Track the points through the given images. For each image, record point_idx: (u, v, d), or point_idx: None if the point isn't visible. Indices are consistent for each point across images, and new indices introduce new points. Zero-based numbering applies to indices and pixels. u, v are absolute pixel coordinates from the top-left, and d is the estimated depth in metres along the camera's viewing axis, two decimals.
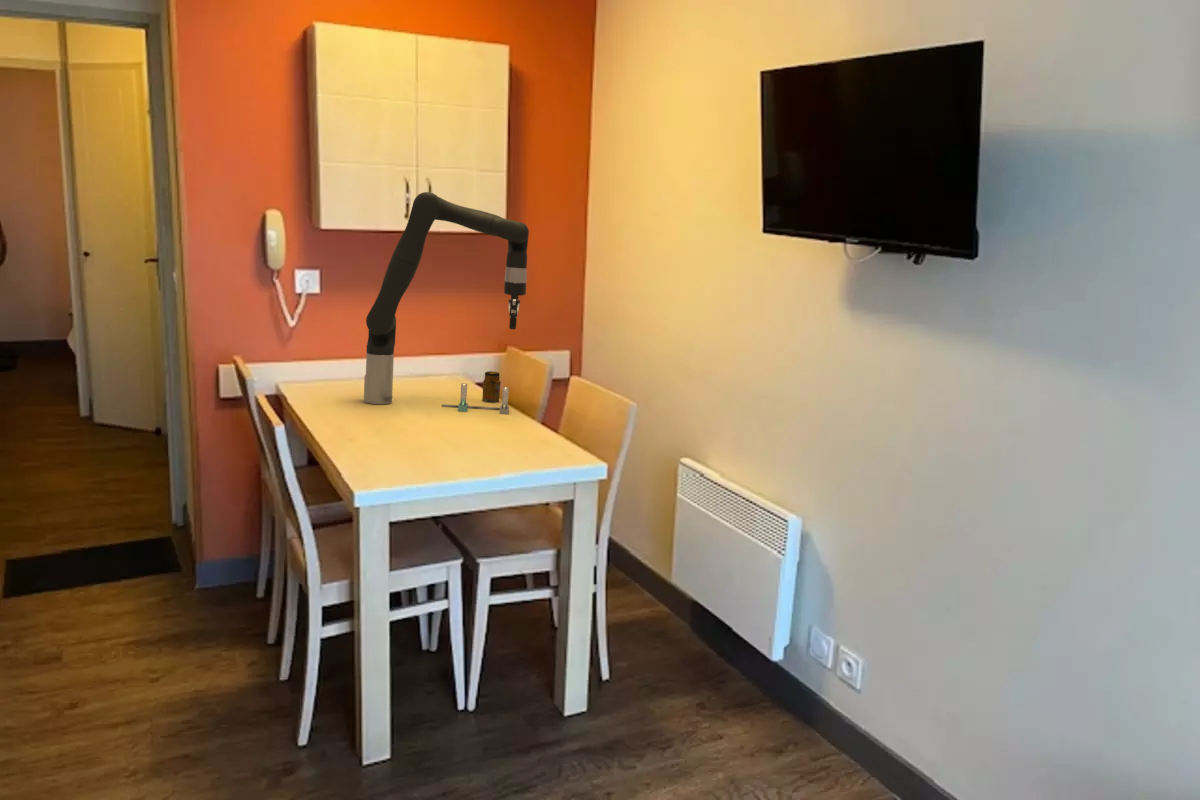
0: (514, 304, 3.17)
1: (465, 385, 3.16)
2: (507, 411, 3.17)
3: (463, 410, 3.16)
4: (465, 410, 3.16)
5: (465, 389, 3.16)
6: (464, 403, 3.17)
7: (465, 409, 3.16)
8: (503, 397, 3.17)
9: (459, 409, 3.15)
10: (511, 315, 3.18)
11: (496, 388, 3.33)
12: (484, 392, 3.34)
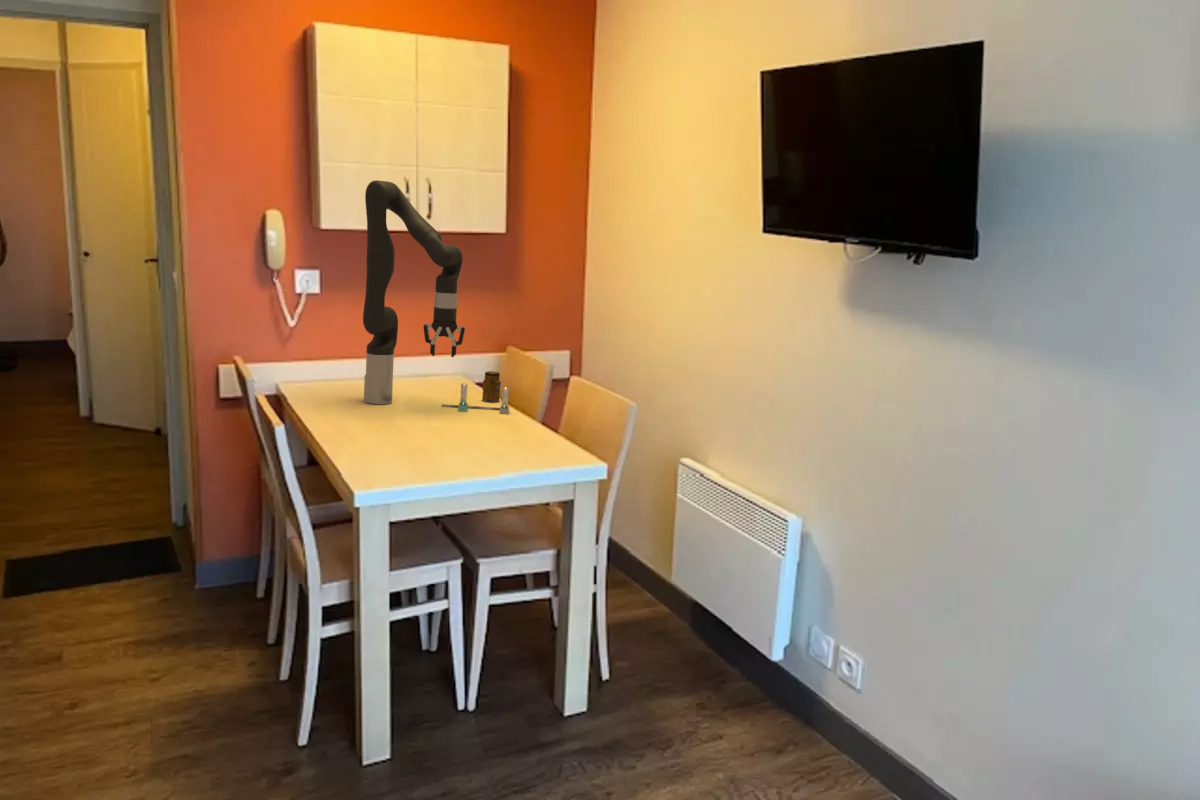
0: None
1: (465, 385, 3.16)
2: (507, 411, 3.17)
3: (463, 410, 3.16)
4: (465, 410, 3.16)
5: (465, 389, 3.16)
6: (464, 403, 3.17)
7: (465, 409, 3.16)
8: (503, 397, 3.17)
9: (459, 409, 3.15)
10: (461, 343, 3.13)
11: (496, 388, 3.34)
12: (484, 392, 3.34)
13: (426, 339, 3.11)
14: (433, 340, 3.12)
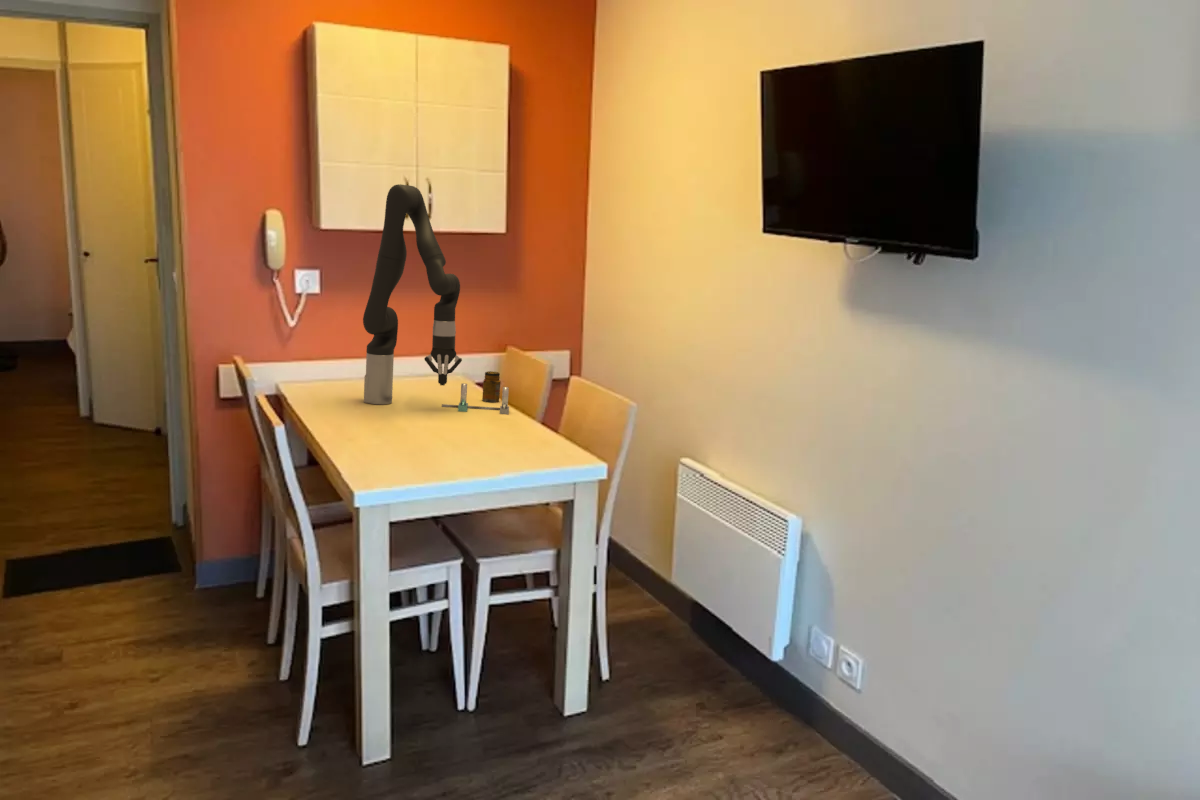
0: None
1: (465, 385, 3.16)
2: (507, 411, 3.17)
3: (463, 410, 3.16)
4: (465, 410, 3.16)
5: (465, 389, 3.16)
6: (464, 403, 3.17)
7: (465, 409, 3.16)
8: (503, 397, 3.17)
9: (459, 409, 3.15)
10: (451, 372, 3.15)
11: (496, 388, 3.34)
12: (484, 392, 3.34)
13: (433, 369, 3.13)
14: (441, 370, 3.14)
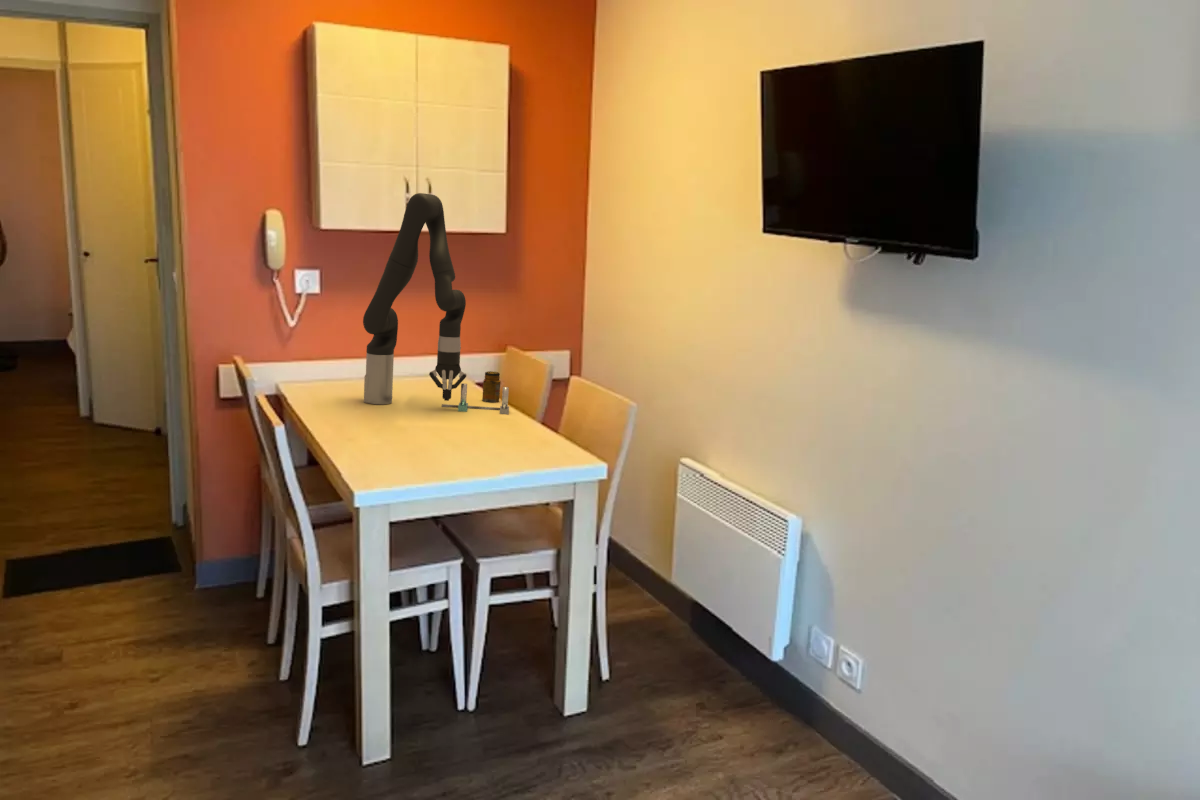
0: None
1: (465, 385, 3.16)
2: (507, 411, 3.17)
3: (463, 410, 3.16)
4: (465, 410, 3.16)
5: (465, 389, 3.16)
6: (464, 403, 3.17)
7: (465, 409, 3.16)
8: (503, 397, 3.17)
9: (459, 409, 3.15)
10: (455, 387, 3.16)
11: (496, 388, 3.34)
12: (484, 392, 3.34)
13: (438, 384, 3.14)
14: (445, 385, 3.15)
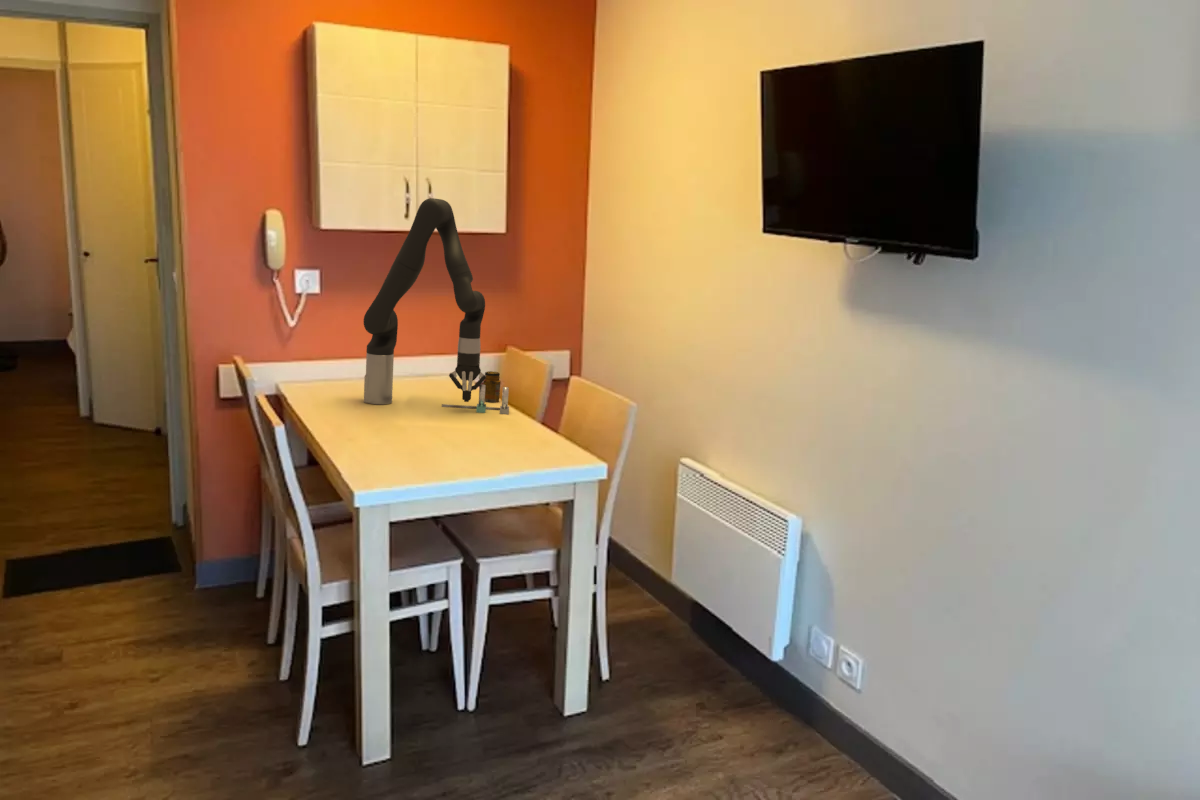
0: None
1: (483, 386, 3.16)
2: (507, 411, 3.17)
3: (481, 411, 3.16)
4: (483, 411, 3.16)
5: (483, 390, 3.17)
6: (482, 404, 3.17)
7: (483, 410, 3.16)
8: (503, 397, 3.17)
9: (477, 410, 3.16)
10: (475, 388, 3.16)
11: (496, 388, 3.34)
12: None
13: (458, 386, 3.15)
14: (465, 386, 3.15)
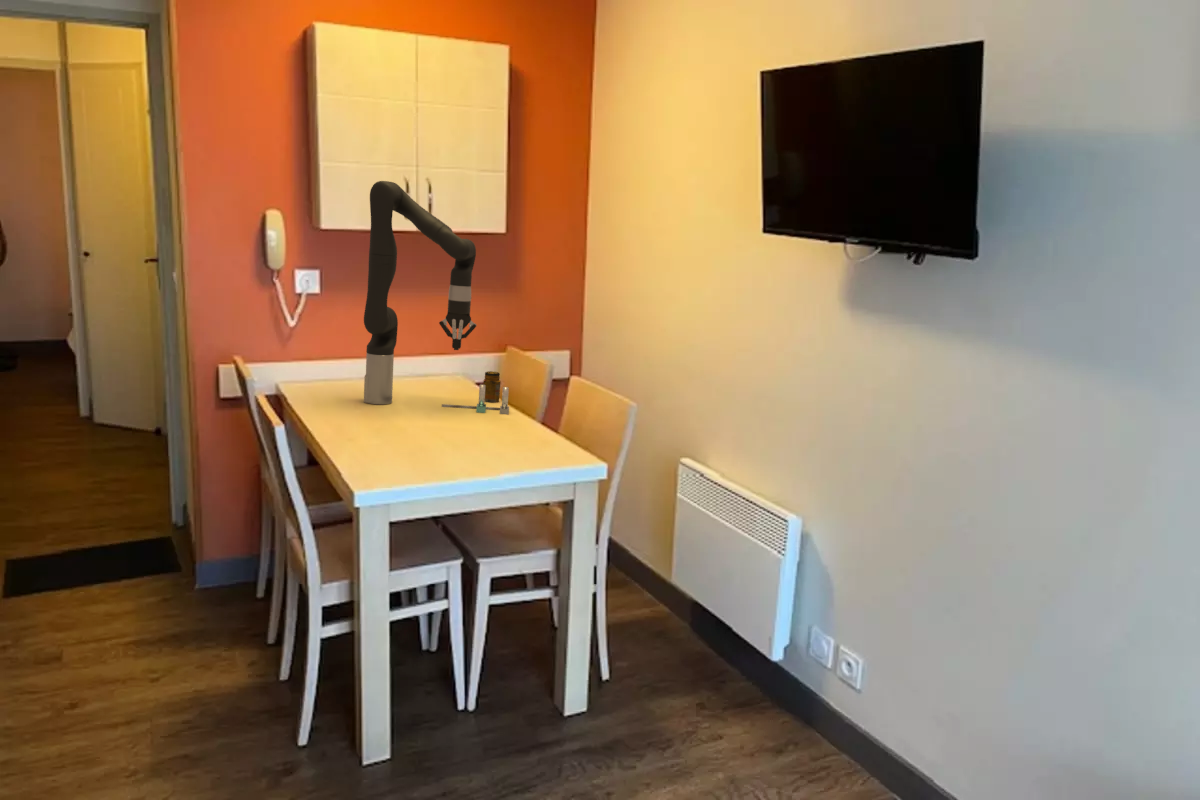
0: None
1: (483, 386, 3.16)
2: (507, 411, 3.17)
3: (481, 411, 3.16)
4: (483, 411, 3.16)
5: (483, 390, 3.17)
6: (482, 404, 3.17)
7: (483, 410, 3.16)
8: (503, 397, 3.17)
9: (477, 410, 3.16)
10: (465, 337, 3.17)
11: (496, 388, 3.33)
12: None
13: (448, 334, 3.16)
14: (455, 334, 3.16)
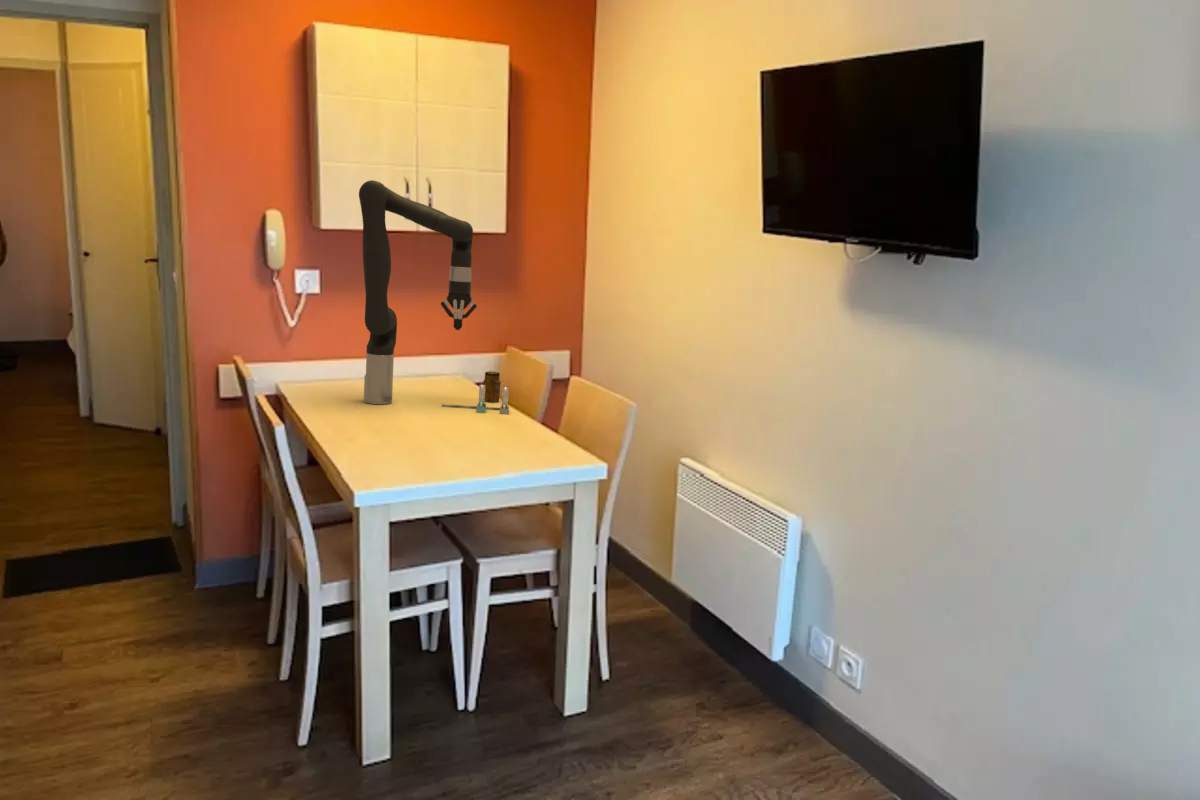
0: None
1: (483, 386, 3.16)
2: (507, 411, 3.17)
3: (481, 411, 3.16)
4: (483, 411, 3.16)
5: (483, 390, 3.17)
6: (482, 404, 3.17)
7: (483, 410, 3.16)
8: (503, 397, 3.17)
9: (477, 410, 3.16)
10: (466, 317, 3.25)
11: (496, 388, 3.33)
12: None
13: (449, 314, 3.24)
14: (456, 314, 3.24)
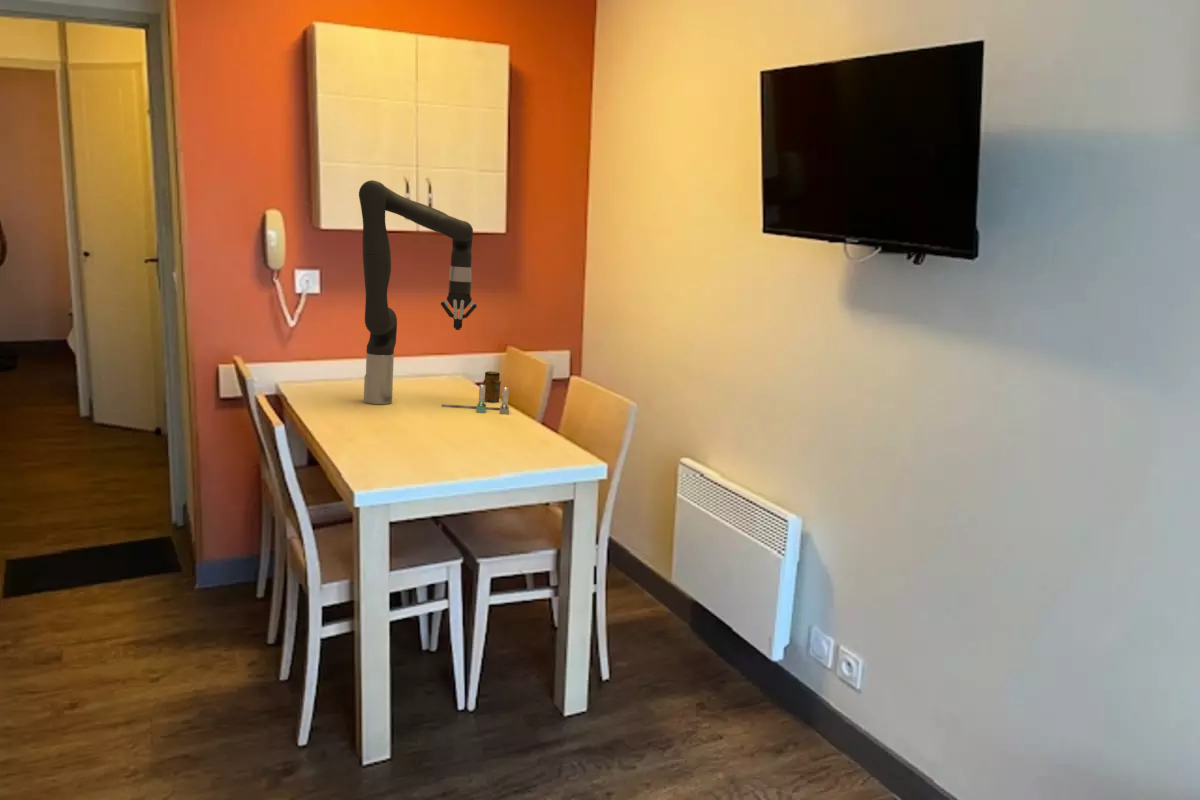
0: None
1: (483, 386, 3.16)
2: (507, 411, 3.17)
3: (481, 411, 3.16)
4: (483, 411, 3.16)
5: (483, 390, 3.17)
6: (482, 404, 3.17)
7: (483, 410, 3.16)
8: (503, 397, 3.17)
9: (477, 410, 3.16)
10: (466, 317, 3.25)
11: (496, 388, 3.33)
12: None
13: (449, 314, 3.24)
14: (456, 314, 3.24)
